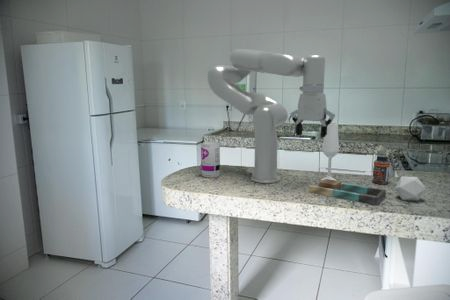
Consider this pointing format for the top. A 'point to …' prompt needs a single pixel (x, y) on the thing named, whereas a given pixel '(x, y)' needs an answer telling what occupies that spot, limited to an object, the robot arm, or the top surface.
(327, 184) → the walnut block
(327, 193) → the tray
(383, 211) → the top surface
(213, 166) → the supplement can
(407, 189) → the die
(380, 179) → the supplement bottle
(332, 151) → the champagne flute
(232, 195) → the top surface
